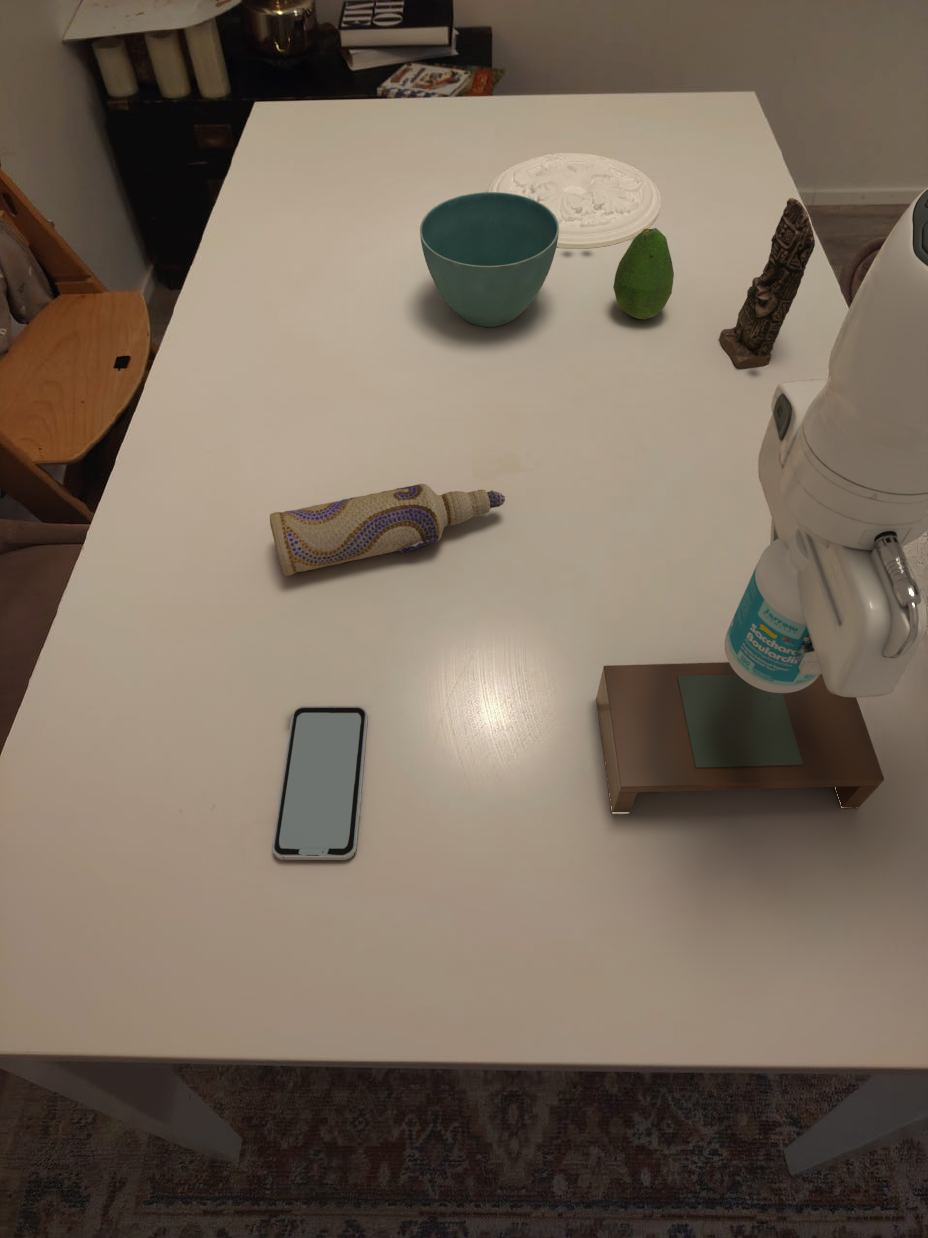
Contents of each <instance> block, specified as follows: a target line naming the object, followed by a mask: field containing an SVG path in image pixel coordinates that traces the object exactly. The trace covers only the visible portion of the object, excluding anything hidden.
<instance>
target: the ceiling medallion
mask: <svg viewBox="0 0 928 1238" xmlns="http://www.w3.org/2000/svg"><path fill="white" fill-rule="evenodd" d="M487 192H500V193H510V194H516V195H520V196H524V197H527V198H530V199H533V200H535V201H537V202H539V203H541V204H543V205H544V206H546V207H547V208H548V209H549V210H550V211H551V212H552V213H553V214H554V215H555V217H556V219H557V221H558V224H559V235H558V241H557V247H556V248H561V249H574V250H575V249H576V250H577V249H579V250H580V249H582V250H583V249H594V248H603V247H609V246H613V245H617V244H620V243H623V242H626V241H629V240H631V239H633V238H635V237H636V236H637V235H638V234H640V233H641V232H642V231H643V230H644V229H650V227H651V226H652V225H653V224H654V223H655V222H656V221H657V219H658V217H659V214H660V211H661V206H662V196H661V192H660V190H659V188H658V187H657V185H656V183H655V182H654V180H652V179H651V178H650V177H649V176H647V174H645V173H644V172H642V171H641V170H639V169H638V168H635V167H634V166H632V165H630V164H628V163H626V162H624V161H621V160H617V159H614V158H610V157H607V156H603V155H599V154H593V153H592V154H591V153H583V152H582V153H581V152H561V153H560V152H555V153H553V154H552V153H551V154H549V153H548V154H545V155H540V156H537V157H533V158H529V159H526V160H524V161H521V162H518V163H516V164H513V166H511V167H509V168H507V169H506V170H504V171H503V172H501V173H500V174H499V175H497V177H496V178H495V179H494V180H493V181H492V183H491V184H490V186H489V189H488V191H487Z"/></svg>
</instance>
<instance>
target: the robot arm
mask: <svg viewBox="0 0 928 1238" xmlns="http://www.w3.org/2000/svg"><path fill="white" fill-rule="evenodd" d="M774 390H775V391H774V393H773V395H772V399H771V404H770V409H771V413H772V414H771V416H770V418H769V421H768V424H767V426H766V429H765V432H764V435H763V439H762V442H761V445H760V449H759V453H758V459H757V460H758V461H757V474H758V479H759V483H760V485H761V489H762V491H763V494H764V497H765V502H766V504H767V507H768V510H769V513H770V517H771V525H770V541H769V542H770V543H769V545H770V544H771V543H772V542H774V541H775V540H776V539H778V538H780V539H781V540H782V541H783V542H784V544H785V546H786V547H787V549H788V550H789V543H790V540H791V538H792V536H793V535H794V533H795V531H796V529H797V528H798V530H799V533H800V536H801V540H802V543H803V546H804V549H805V552H806V555H807V557H808V563H807V565H806V567H805V569H804V571H801V572H800V571H799V570H798V573H797V580H798V587H799V593H800V601H801V610H802V613H803V616H804V619H805V623H806V626H807V629H808V632H809V635H810V638H811V641H812V644H810V643H801V645H800V647H799V649H798V652H796V654H795V655H796V659H797V662H798V666H799V670H800V673H801V674H803V675H819V674H822V676H823V679H824V682H825V685H826V687H827V689H828V691H829V692H831V693H833V694H835V695H838V696H842V697H856V698H876V697H883V696H887V695H889V694H891V693H892V692H893V691H894V690H895V689H896V687H898V685H899V683H900V682H901V681H902V679H903V677H904V676H905V674H906V672H907V671H908V669H909V668H910V665H911V664H912V663H913V660H914V658H915V657H916V654H917V652H918V651H919V649H920V646H921V644H922V642H923V639H924V636H925V635H926V630H927V625H928V611H927V606H926V601H925V599H924V595H923V593H922V591H921V589H920V586H919V583H918V581H917V579H916V577H915V574H914V572H913V570H912V567H911V565H910V563H909V561H908V558H907V556H906V554H905V552H904V549H903V547H904V546H907V545H909V544H911V543H913V542H914V541H916V540H918V539H919V538H921V536H923V535H924V534H925V532H926V531H927V530H928V187H927V188H925V189H924V190H922V191H921V192H920V193H919V194H917V196H916V197H915V199H913V201H912V202H911V203H910V204H909V206H907V208H906V209H905V210H904V212H903V214H902V215H901V216H900V218H899V219H898V221H897V222H896V224H895V225H894V226H893V228H892V230H891V231H890V233H889V234H888V236H887V237H886V239H885V241H884V242H883V244H882V245H881V247H880V248H879V251H878V252H877V254H876V256H875V257H874V259H873V261H872V263H871V265H870V266H869V268H868V270H867V271H866V273H865V276H864V277H863V279H862V281H861V283H860V285H859V287H858V289H857V292H856V294H855V295H854V297H853V300H852V302H851V304H850V306H849V308H848V310H847V312H846V315H845V317H844V319H843V322H842V323H841V326H840V328H839V331H838V333H837V336H836V338H835V341H834V343H833V346H832V347H831V350H830V355H829V359H828V375H827V378H819V379H818V378H817V379H804V380H803V379H802V380H792V381H783V382H779V383H778V384H777V385H776V388H775V389H774Z"/></svg>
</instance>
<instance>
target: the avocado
mask: <svg viewBox="0 0 928 1238" xmlns="http://www.w3.org/2000/svg"><path fill="white" fill-rule="evenodd" d="M673 265H674V264H673V260H672V256H671V252H670V248H669V245H668V240H667V237H666V236H665V235H664V234H663V233H662V232H661V231H660V230H659V229H658V228H657V227H654V228H648V229H644V230H643V231H642V232H641V233H640V234H638V235H637V236H636V237H634V239H633V240H632V241H631V243H630V245H629V246H628V248H627V249H626V251H625V252H624V254H623V255H622V257H621V259H620V261H619V262H618V264H617V268H616V270H615V271H616V272H615V275H614V281H613V287H612V288H613V291H614V296H615V299H616V304H617V305H618V306H619V308H620V309H621V310H622V311H624V312H625V313H626V314H627V315H629V316H630V317H632V318H635V319H639V320H648V319H650V318H653V317H656V316H657V315H658V314H659V313H660V312H661V311H662V310H663V309H664V308H665V307H666V304H668V302H669V299H670V298H671V295H672V293H673V285H674V277H675V273H674V266H673Z"/></svg>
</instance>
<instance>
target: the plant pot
mask: <svg viewBox="0 0 928 1238" xmlns="http://www.w3.org/2000/svg"><path fill="white" fill-rule="evenodd" d="M558 235H559V224H558V221H557V219H556V217H555V215H554V214H553V213H552V212H551V211H550V210H549V209H548V208H547V207H546V206H544V205H543V204H541V203H539V202H537V201H535V200H533V199H530V198H527V197H524V196H520V195H516V194H510V193H500V192H488V191H484V192H483V191H482V192H473V193H467V194H462V195H458V196H456V197H455V196H454V197H453V198H449V199H447V200H444V201H443V202H441V203H439V204H437V205H435V206H433V208H431V209H430V210H429V211H428V212H427V213H426V214H425V215H424V216H423V218H422V220H421V222H420V225H419V237H420V238H419V239H420V243H421V248H422V253H423V258H424V260H425V263H426V267H427V269H428V272H429V274H430V277H431V279H432V280H433V281H432V282H433V283H434V285H435V287H436V289H437V290H438V292H439V293H440V295H441V296H442V298H443V299H444V300H445V302H446V303H447V304H448V305H449V306H450V307H451V309H452V310H454V312H456V313H457V314H458V315H459V316H460V317H461V318H462V319H463V320H465V321H467V322H468V323H470V324H472V325H475V326H478V327H483V328H493V327H499V326H503V325H506V324H508V323H510V322H512V321H513V320H515V319H516V318H517V317H518V316H519V315H520V314H522V312H524V311H525V309H527V308H528V307H529V305H530V304H531V303H532V301H534V299H535V298H536V297H537V295H538V293H539V292H540V290H541V288H542V287H543V285H544V283H545V282H546V280H547V277H548V274H549V273H550V270H551V268H552V264H553V261H554V257H555V255H556V251H557V248H558V247H557V241H558Z"/></svg>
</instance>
